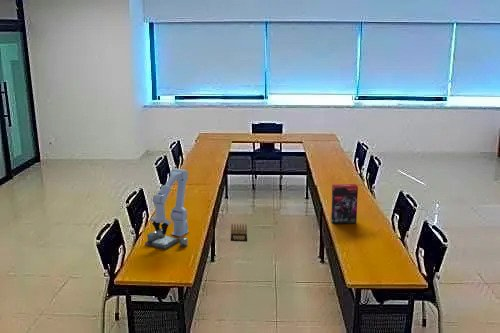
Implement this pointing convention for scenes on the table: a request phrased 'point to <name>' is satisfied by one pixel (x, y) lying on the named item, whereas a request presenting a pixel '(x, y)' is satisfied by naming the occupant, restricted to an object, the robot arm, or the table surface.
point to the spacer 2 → (183, 242)
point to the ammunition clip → (239, 233)
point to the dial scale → (160, 241)
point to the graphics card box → (344, 203)
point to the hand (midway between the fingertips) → (161, 233)
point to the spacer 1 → (160, 233)
